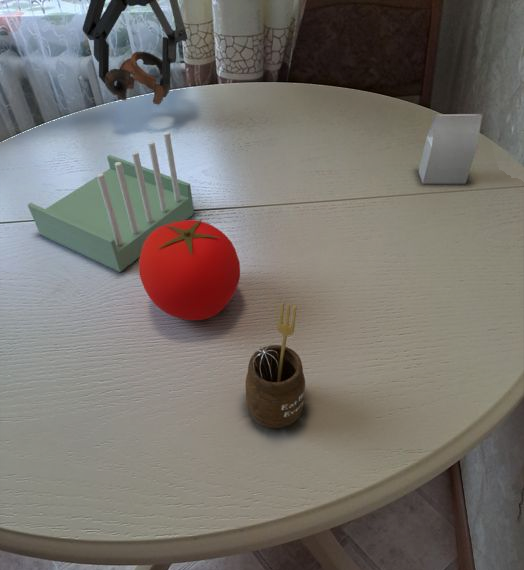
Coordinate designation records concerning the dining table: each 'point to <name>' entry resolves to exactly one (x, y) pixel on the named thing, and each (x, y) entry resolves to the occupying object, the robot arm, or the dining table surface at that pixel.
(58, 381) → the dining table surface
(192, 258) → the tomato
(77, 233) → the dish rack
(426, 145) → the grey block
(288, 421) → the utensil holder
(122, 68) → the brown curved ring piece
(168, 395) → the dining table surface
